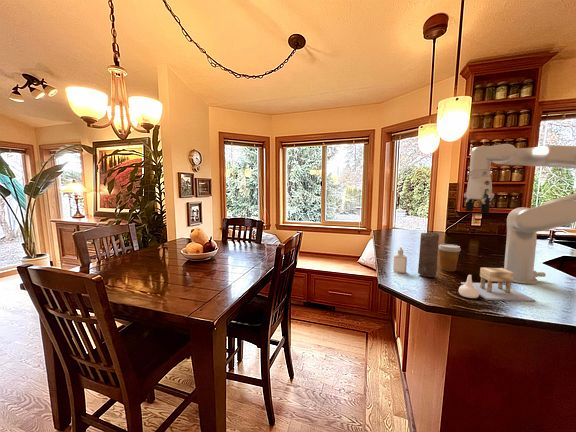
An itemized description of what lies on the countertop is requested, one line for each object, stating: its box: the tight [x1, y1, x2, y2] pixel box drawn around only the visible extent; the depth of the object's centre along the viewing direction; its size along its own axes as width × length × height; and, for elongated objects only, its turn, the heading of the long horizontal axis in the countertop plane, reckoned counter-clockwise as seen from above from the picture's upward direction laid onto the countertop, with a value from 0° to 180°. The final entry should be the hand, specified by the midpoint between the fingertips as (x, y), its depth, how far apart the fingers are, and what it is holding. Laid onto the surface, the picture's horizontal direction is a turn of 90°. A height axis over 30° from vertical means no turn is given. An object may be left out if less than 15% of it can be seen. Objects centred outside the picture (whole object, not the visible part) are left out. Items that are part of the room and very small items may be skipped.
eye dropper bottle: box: [392, 246, 408, 274], centre depth 121 cm, size 4×6×12 cm
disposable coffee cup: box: [438, 243, 462, 272], centre depth 125 cm, size 10×10×12 cm
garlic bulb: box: [458, 274, 480, 299], centre depth 94 cm, size 6×6×8 cm
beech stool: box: [479, 267, 514, 293], centre depth 97 cm, size 8×6×8 cm
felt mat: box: [460, 281, 536, 302], centre depth 97 cm, size 16×16×1 cm
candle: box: [417, 232, 440, 278], centre depth 114 cm, size 8×7×20 cm
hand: (476, 212), depth 116 cm, fingers open, 9 cm apart
